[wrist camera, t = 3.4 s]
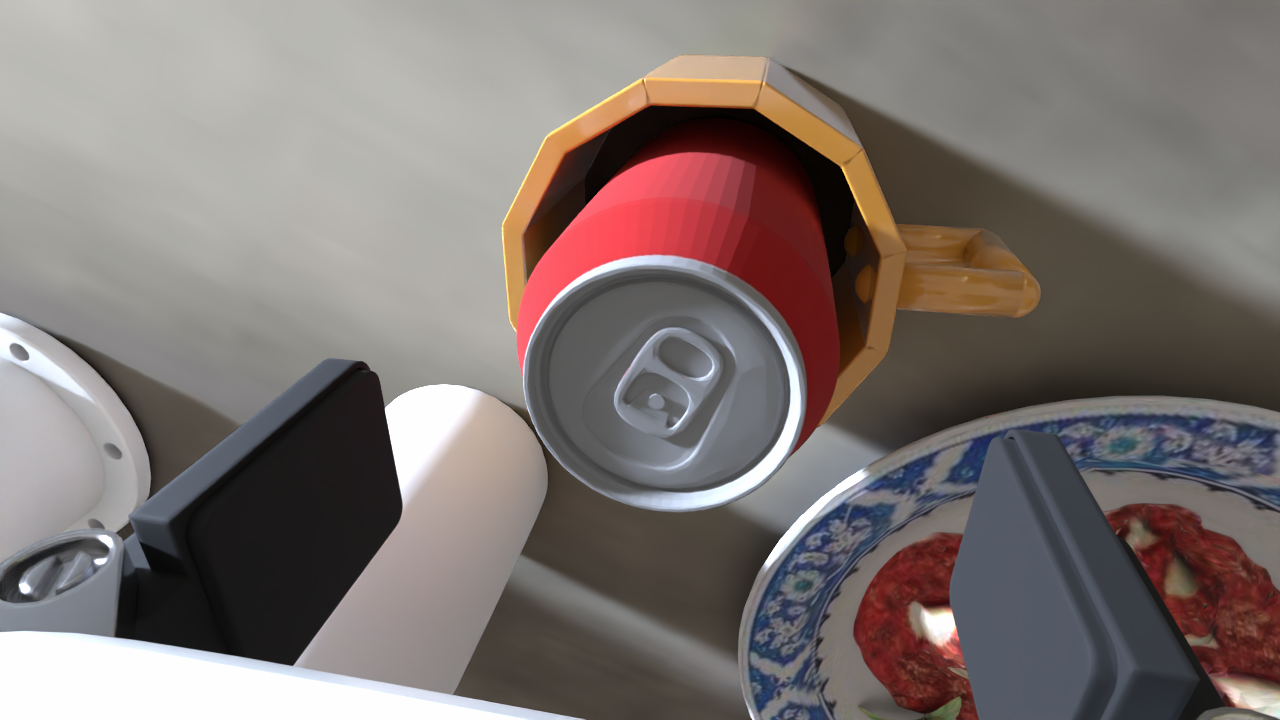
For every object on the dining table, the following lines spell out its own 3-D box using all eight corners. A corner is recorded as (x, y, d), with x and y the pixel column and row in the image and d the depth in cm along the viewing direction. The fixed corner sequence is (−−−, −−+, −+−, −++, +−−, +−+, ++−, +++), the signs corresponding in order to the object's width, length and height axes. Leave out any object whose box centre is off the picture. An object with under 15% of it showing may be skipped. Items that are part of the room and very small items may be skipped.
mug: (574, 340, 27) (518, 434, 21) (563, 52, 22) (487, 73, 16) (953, 373, 25) (1005, 487, 19) (1028, 62, 20) (1125, 90, 14)
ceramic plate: (1378, 231, 20) (1466, 265, 18) (1502, 780, 28) (1574, 859, 26) (631, 513, 30) (617, 563, 27) (881, 864, 38) (889, 928, 35)
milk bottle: (436, 341, 28) (-146, 930, 10) (588, 459, 29) (299, 1158, 12) (350, 455, 31) (-193, 1037, 14) (489, 555, 33) (154, 1203, 15)
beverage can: (582, 249, 25) (437, 436, 15) (677, 69, 22) (580, 143, 11) (745, 344, 26) (719, 590, 15) (862, 183, 22) (932, 355, 12)
